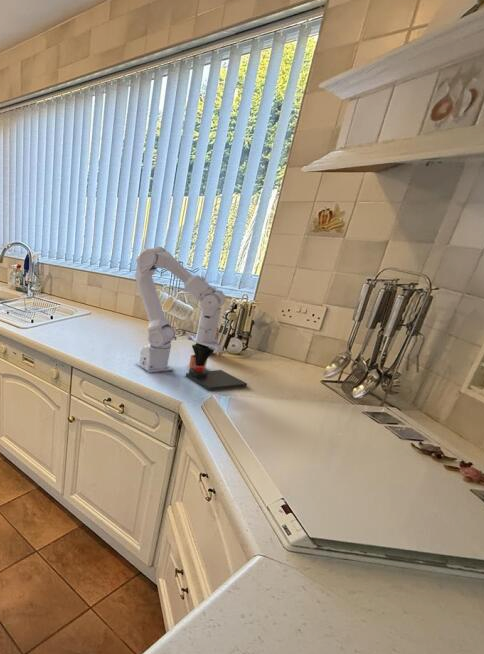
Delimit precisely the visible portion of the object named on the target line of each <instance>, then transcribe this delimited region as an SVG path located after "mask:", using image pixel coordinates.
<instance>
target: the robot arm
mask: <svg viewBox="0 0 484 654" xmlns="http://www.w3.org/2000/svg"><path fill="white" fill-rule="evenodd" d="M135 262H136V267H135V274H134V279H135V281H136V286H137V287H138V291H139V294H140V297H141V300H142V303H143V307H144V310H145V313H146V316H147V319H148V321H149V322H148V326H147V333H148V335H147V341H148V343H149V344H147V345H145V346H143V347H142V348H141V350H140V356H139V362H138V363H137V365H138V366H139V367H141V368H142V369H144V370H145V371H146V372H148V373H157V372H167V371H168V372H169V371H173V368H172V367H171V366H169V365H168V364H169V360H170V354H171V347H172V342H171V341H173V340H174V339H175V337H176V331H175V330H176V329H175V328H174V327H173V326H172V325H171V323H170V321H169V320H168V319H167V318H166V317H165V314H164V311H163V307H162V304H161V301H160V298H159V294H158V292H157V289H156V285H155V282H154V279H153V275H154V274H155V272H156V271H157V269H165V270H167V271H168V272H170V274H172V275H173V276H175V277H176V278H177V279H178V280H180V281H181V282H182V283H183V287H184V290H185V291H187V292H188V293H189V294H190V295H191V296H192V297H193V298H195V299H196V300H197V301H198V302H199V305H200V308H201V311H200V315H199V320H198V325H197V330H196V334H195V333H188V334H187V340H188V341H192V342H195V344H192V345H191V348H192V350H193V353H194V355H195V359H196V365H197V366H203V365H204V364H205V362H206V360H207V361H208V358H209V357H210V356H211V353H212V352H213V351H214V353H216V354H217V353H218V354H219V353H223V349H224V346H222V345H221V344H220V343H218V339H217V340H216V339H215V337H216V332H217V328H218V329H219V322H220V320H221V319H220V318H221V311H222V307H223V306H224V305H225V304H226V300H227V298H226V295H225V293H224V292H223V291H222V290H219V289H217V287H215V286H212V285H210V284H209V283H208V282H207V280H206V277H204V276H203V275H202V276H200V275H199V274H197V275H194V274H192V273H191V272H190V271H189V270H188V269H186V267H184V266H183V265H182V264H181V262H179V261H178V260H177V259H176V258H175V257H174V256H173V255H172V254H171V252H169V251H167V250H166V249H165V248H164V247H163V246H155V247H152V248H151V247H150V248H144V249H143V250H141V251H140V253H139V254H138V256H137V257H136V259H135ZM212 354H213V353H212Z"/></svg>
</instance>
